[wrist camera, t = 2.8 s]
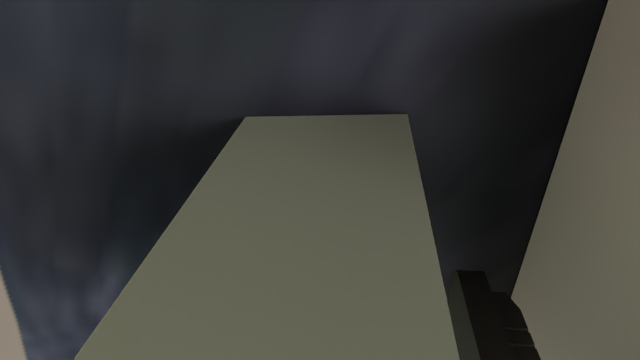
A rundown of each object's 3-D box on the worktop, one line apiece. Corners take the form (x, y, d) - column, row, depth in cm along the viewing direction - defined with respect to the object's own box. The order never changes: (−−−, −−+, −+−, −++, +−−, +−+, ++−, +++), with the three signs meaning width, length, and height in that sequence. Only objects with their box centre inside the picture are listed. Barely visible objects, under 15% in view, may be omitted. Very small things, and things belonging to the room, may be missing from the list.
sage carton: (245, 116, 12) (-75, 568, 3) (407, 113, 11) (527, 673, 3) (278, 287, 16) (176, 669, 8) (395, 293, 15) (425, 718, 7)
